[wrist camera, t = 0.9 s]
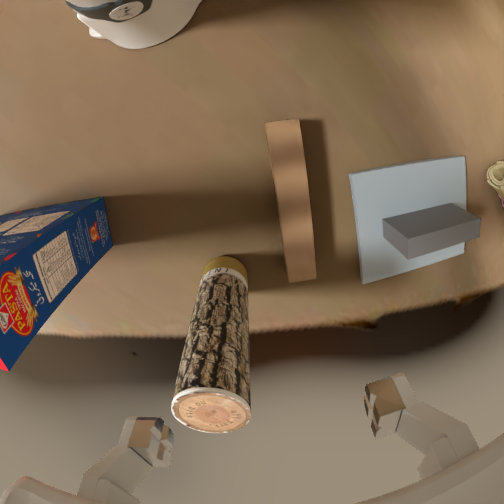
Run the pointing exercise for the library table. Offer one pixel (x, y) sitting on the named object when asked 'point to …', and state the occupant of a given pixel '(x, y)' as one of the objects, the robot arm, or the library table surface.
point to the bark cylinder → (216, 353)
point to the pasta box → (44, 265)
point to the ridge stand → (411, 215)
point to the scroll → (497, 178)
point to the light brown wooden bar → (292, 198)
